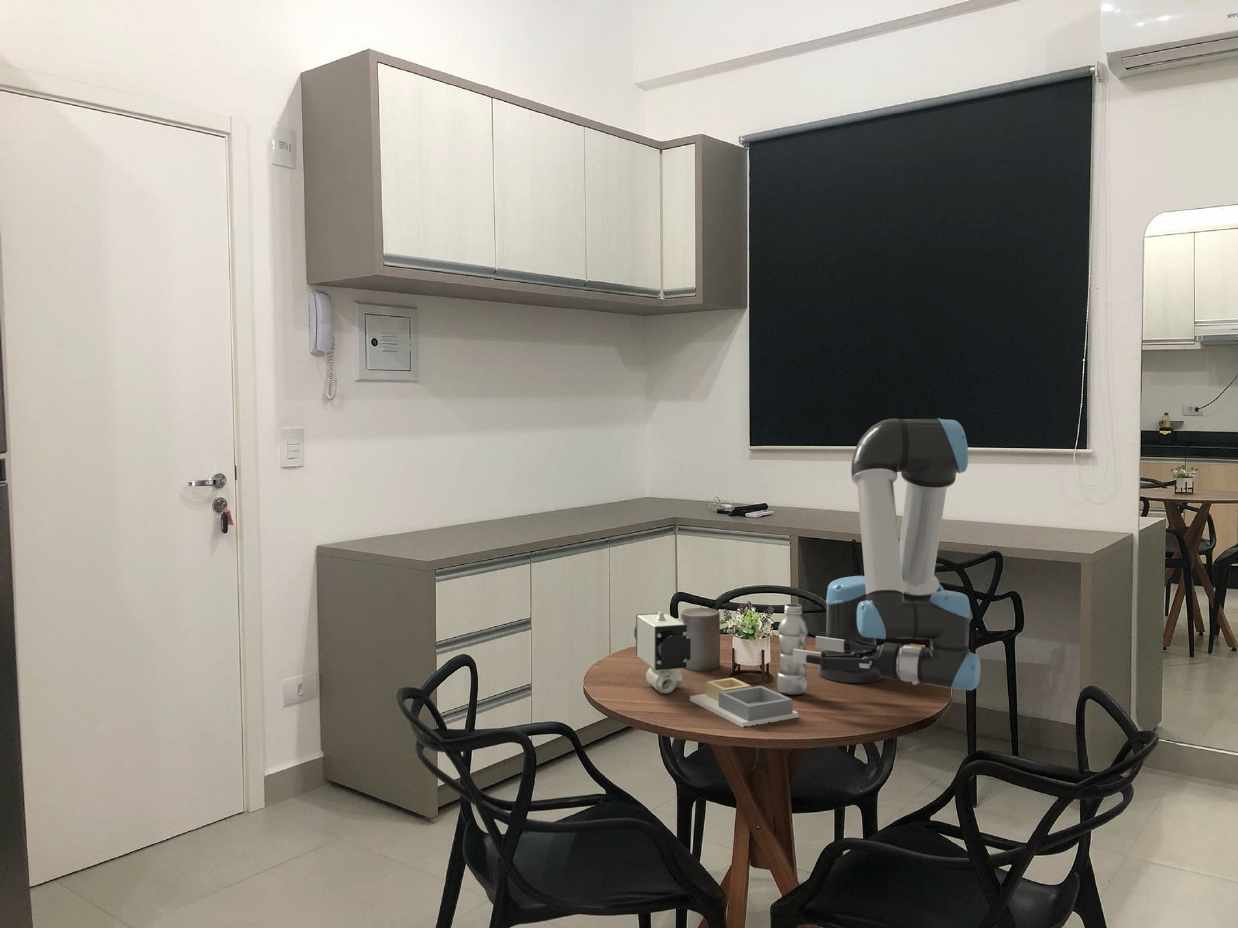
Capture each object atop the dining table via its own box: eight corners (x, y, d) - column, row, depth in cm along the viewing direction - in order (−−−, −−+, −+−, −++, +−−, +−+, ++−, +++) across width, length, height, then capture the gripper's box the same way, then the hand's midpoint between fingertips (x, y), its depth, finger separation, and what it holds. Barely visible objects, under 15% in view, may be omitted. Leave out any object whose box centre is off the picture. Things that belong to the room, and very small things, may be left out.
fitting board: (743, 691, 222) (743, 674, 222) (798, 717, 204) (798, 698, 204) (690, 700, 216) (690, 682, 215) (742, 727, 198) (742, 707, 198)
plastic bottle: (774, 689, 224) (775, 602, 223) (804, 689, 224) (805, 602, 223) (778, 697, 218) (779, 608, 217) (809, 698, 218) (810, 608, 216)
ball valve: (695, 698, 217) (696, 619, 216) (659, 702, 214) (659, 621, 213) (666, 677, 234) (667, 603, 233) (632, 680, 231) (633, 605, 230)
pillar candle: (720, 661, 248) (719, 602, 247) (720, 671, 238) (719, 610, 238) (681, 660, 249) (681, 602, 248) (679, 671, 239) (679, 610, 239)
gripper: (883, 694, 196) (782, 678, 207) (917, 666, 217) (824, 653, 228) (883, 657, 196) (783, 643, 207) (917, 632, 217) (825, 621, 228)
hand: (804, 648), depth 218 cm, fingers open, 13 cm apart
